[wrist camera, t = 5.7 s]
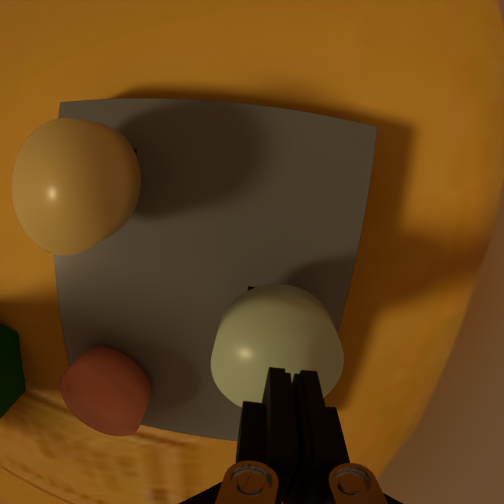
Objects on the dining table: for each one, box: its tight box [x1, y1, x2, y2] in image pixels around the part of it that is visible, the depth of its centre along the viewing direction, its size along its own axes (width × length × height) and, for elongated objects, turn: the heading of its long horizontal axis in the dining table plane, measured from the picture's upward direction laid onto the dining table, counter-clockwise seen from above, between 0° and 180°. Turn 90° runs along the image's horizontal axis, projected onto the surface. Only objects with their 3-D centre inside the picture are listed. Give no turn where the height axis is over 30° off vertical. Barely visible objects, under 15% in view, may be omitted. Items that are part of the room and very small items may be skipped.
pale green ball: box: [211, 284, 344, 407], centre depth 14 cm, size 5×5×5 cm
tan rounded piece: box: [12, 118, 141, 255], centre depth 12 cm, size 5×5×5 cm
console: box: [54, 98, 377, 441], centre depth 17 cm, size 20×16×3 cm
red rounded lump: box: [60, 346, 152, 436], centre depth 17 cm, size 5×5×5 cm
